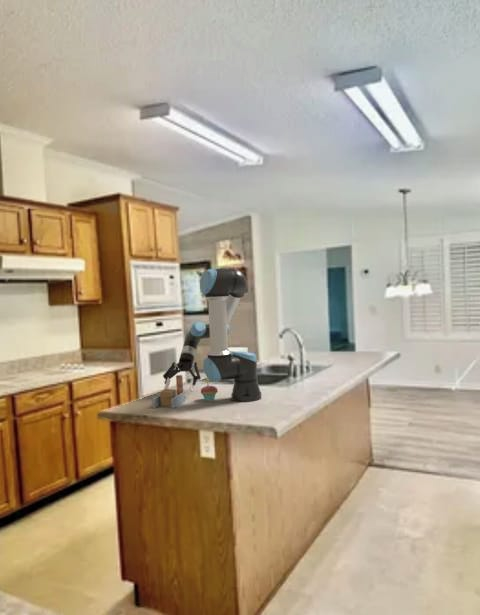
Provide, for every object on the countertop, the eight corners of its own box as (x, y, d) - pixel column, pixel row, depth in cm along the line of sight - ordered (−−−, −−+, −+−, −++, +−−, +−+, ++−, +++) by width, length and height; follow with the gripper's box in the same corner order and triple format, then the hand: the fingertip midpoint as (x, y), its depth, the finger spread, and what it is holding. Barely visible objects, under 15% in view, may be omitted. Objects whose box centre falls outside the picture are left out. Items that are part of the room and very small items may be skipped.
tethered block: (176, 396, 254) (175, 374, 254) (187, 397, 253) (186, 374, 252) (160, 406, 235) (159, 382, 234) (172, 406, 233) (171, 382, 233)
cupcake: (198, 399, 246) (197, 375, 246) (214, 397, 250) (213, 373, 249) (204, 402, 238) (203, 378, 238) (220, 400, 242) (219, 376, 241)
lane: (164, 401, 245) (164, 392, 245) (184, 401, 242) (184, 392, 242) (152, 408, 232) (152, 398, 232) (173, 408, 229) (173, 399, 229)
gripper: (211, 360, 262) (203, 394, 248) (168, 360, 269) (158, 393, 255) (207, 351, 257) (199, 385, 243) (163, 352, 263) (153, 385, 249)
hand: (178, 389), depth 249 cm, fingers open, 13 cm apart
